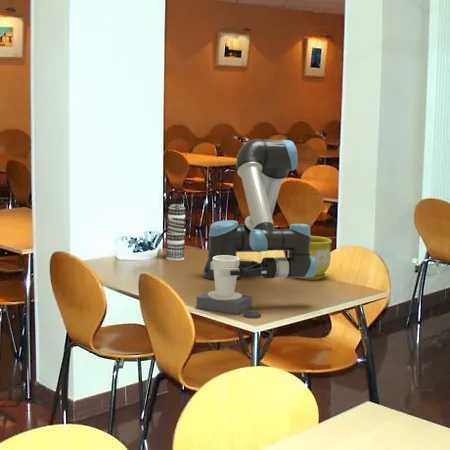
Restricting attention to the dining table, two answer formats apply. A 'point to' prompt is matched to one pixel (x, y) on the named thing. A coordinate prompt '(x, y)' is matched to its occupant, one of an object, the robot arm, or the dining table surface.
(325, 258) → the flowerpot
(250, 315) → the lens cap
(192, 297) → the dining table surface
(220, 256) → the foam cup
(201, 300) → the mount
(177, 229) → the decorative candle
